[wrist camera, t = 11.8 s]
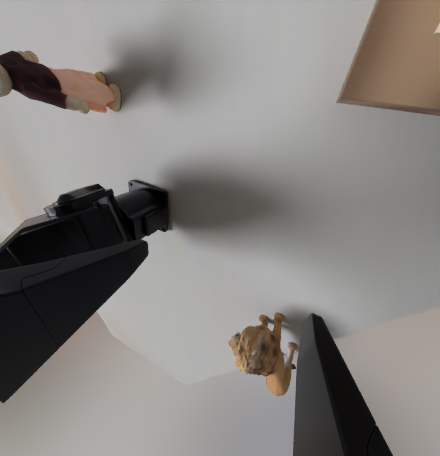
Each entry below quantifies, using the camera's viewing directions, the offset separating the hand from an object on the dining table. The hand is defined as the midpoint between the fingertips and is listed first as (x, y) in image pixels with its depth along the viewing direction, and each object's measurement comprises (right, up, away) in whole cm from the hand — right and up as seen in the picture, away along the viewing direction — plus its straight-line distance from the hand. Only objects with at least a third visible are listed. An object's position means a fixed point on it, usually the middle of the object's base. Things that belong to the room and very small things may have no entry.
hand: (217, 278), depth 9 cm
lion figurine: (+9, -13, +19) cm, 25 cm away
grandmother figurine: (-13, +18, +13) cm, 26 cm away
